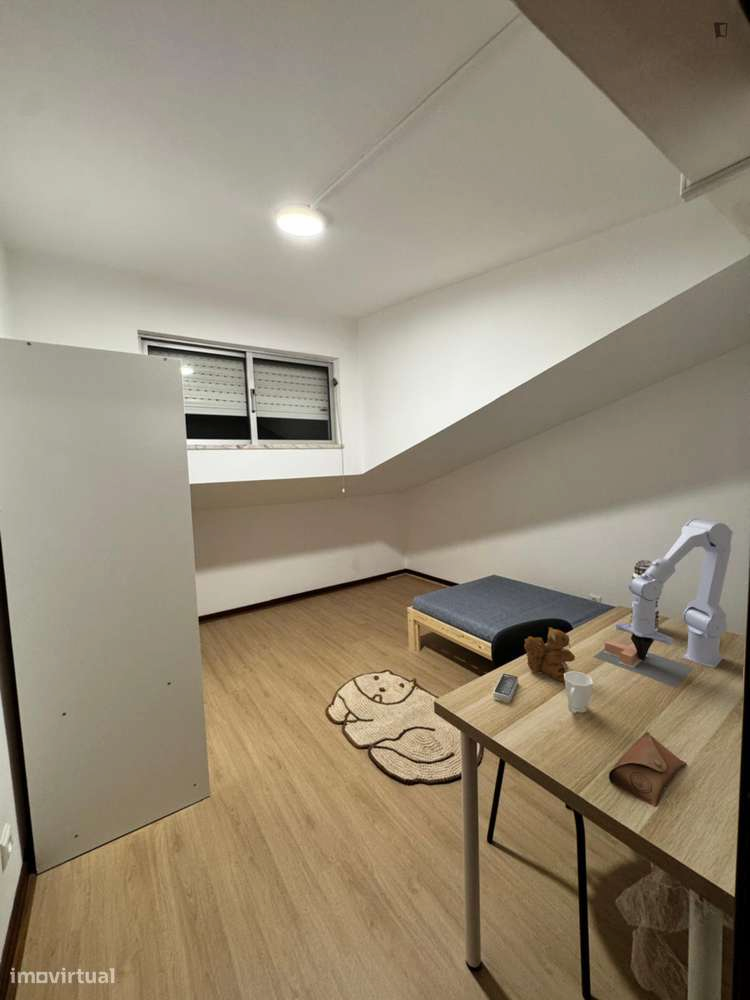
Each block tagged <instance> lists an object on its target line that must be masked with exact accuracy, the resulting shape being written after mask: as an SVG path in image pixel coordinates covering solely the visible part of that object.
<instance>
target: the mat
mask: <svg viewBox="0 0 750 1000" xmlns="http://www.w3.org/2000/svg"><path fill="white" fill-rule="evenodd" d="M622 644H623V643H622ZM623 645H626V646H628V645H627V644H623ZM593 658H595V659H598V660H601V661H603V662H606V663H609V664H611V665H614V666H618V667H619V668H621V669H625V670H627V671H630V672H633V673H636V674H639V675H641V676H644V677H647V678H649V679H652V680H656V681H657V682H660V683H664V684H666V685H669V686H672V687H674V688H677V687H678V686H679V685H680V684H681V682H683V680H685V678H686V677H687V676H688V675H689V674H690V672H692V671H693V670H694V668H695V667H694V666H691V665H688V664H685V663H682V662H679V661H676V660H673V659H669V658H667V657H664V656H661V655H658V654H654V653H651V652H647V655H646V659H645V660H640V659H639V660H638V661H636V662H635V663H634V664H633V665H632V666H630V665H627V664H624V663H622V662H620V658H621V657H620V656H617V655H614V654H611V653H608V652H605V648H603V649H602V650H600V651H599V652H598V653H597V654H595V655H594V656H593Z"/></svg>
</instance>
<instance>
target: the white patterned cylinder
mask: <svg viewBox="0 0 750 1000" xmlns="http://www.w3.org/2000/svg"><path fill="white" fill-rule="evenodd" d="M652 562H653V561H651V560H637V561H636V562H635V563H633V566H634V567H633V568H634V569H633V575H632V576H631V580H630V582H631V581H632V580H633V579H635V578H638V577H640V576H641V575H642V574H643V573H644V572H645V571H646V570H647V569H648V568H649V567H650V566H651V563H652ZM659 600H660V597H658V598H657V599H656V608H655V631H657V632H658V631H659V618H660V615H659V614H660V612H659V602H658V601H659ZM631 604H632V605H631V608H630V609H631V611H630V613H631V614H632V615H631V616H630V618H631V620H630V625H632V618H633V602H632V603H631Z"/></svg>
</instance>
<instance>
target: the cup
mask: <svg viewBox="0 0 750 1000" xmlns="http://www.w3.org/2000/svg"><path fill="white" fill-rule="evenodd" d="M564 679H565V682H564V683H565V685H564V686H565V693H566V697H567V701H568V703H567V704H568V706H567V709H568V711H569V712H571V713H572V714H576V713H581V714H582V713H585V712H588V708H587V707H589V703H590V700H591V696H592V690H593V687H594V681H593V677H592V676H589V675H587V674H585V673H583V672H580V671H575V670H574V671H573V670H569V671H568V672H567V671H566V673H564Z"/></svg>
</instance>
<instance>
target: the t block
mask: <svg viewBox="0 0 750 1000" xmlns="http://www.w3.org/2000/svg"><path fill="white" fill-rule="evenodd" d="M626 645H627V644H624V645H623V643H620V642H617V641H613V640H611V639H609V640H607V641H605V643H604V649H605V652H608V653H611V654H614V655H617V656H620V657H621V658H620V662H622V663H624V664H627V665H630V666H632V665H633V664H634V663H635V662H636V661H638V660H639V658H638V653H637V650H636V647H635V645H634V643H633V642H632V643H631V644H630V645H627V646H626Z"/></svg>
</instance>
